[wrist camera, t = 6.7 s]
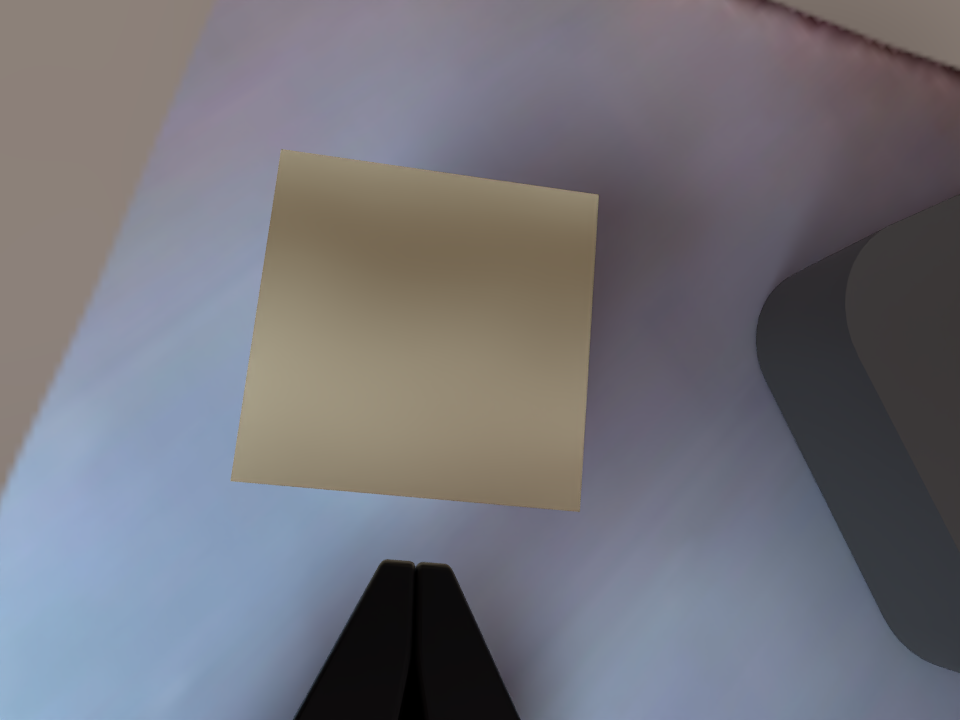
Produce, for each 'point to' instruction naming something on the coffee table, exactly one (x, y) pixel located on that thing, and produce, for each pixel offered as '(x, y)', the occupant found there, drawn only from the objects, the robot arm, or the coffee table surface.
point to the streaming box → (882, 411)
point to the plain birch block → (420, 336)
